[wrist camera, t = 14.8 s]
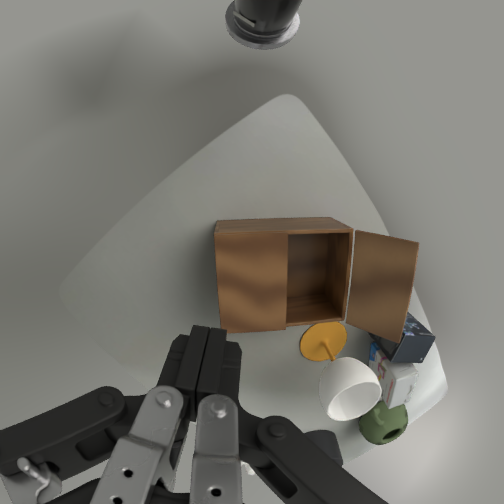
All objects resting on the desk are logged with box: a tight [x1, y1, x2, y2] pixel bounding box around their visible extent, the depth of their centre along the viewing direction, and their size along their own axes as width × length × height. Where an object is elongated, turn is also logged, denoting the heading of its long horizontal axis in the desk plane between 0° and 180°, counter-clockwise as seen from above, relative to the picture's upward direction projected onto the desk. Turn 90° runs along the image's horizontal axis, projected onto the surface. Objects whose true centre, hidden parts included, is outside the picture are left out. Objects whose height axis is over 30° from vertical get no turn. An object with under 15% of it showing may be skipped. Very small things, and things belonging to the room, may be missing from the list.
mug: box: [359, 401, 408, 445], centre depth 52 cm, size 16×13×9 cm
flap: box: [346, 230, 419, 343], centre depth 31 cm, size 13×8×1 cm
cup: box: [300, 322, 382, 421], centre depth 40 cm, size 9×9×16 cm
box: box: [368, 312, 435, 363], centre depth 43 cm, size 8×6×11 cm
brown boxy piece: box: [214, 217, 353, 333], centre depth 38 cm, size 13×17×9 cm
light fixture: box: [305, 430, 343, 467], centre depth 50 cm, size 13×16×14 cm
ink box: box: [369, 342, 418, 409], centre depth 44 cm, size 9×5×12 cm, turn 9°
